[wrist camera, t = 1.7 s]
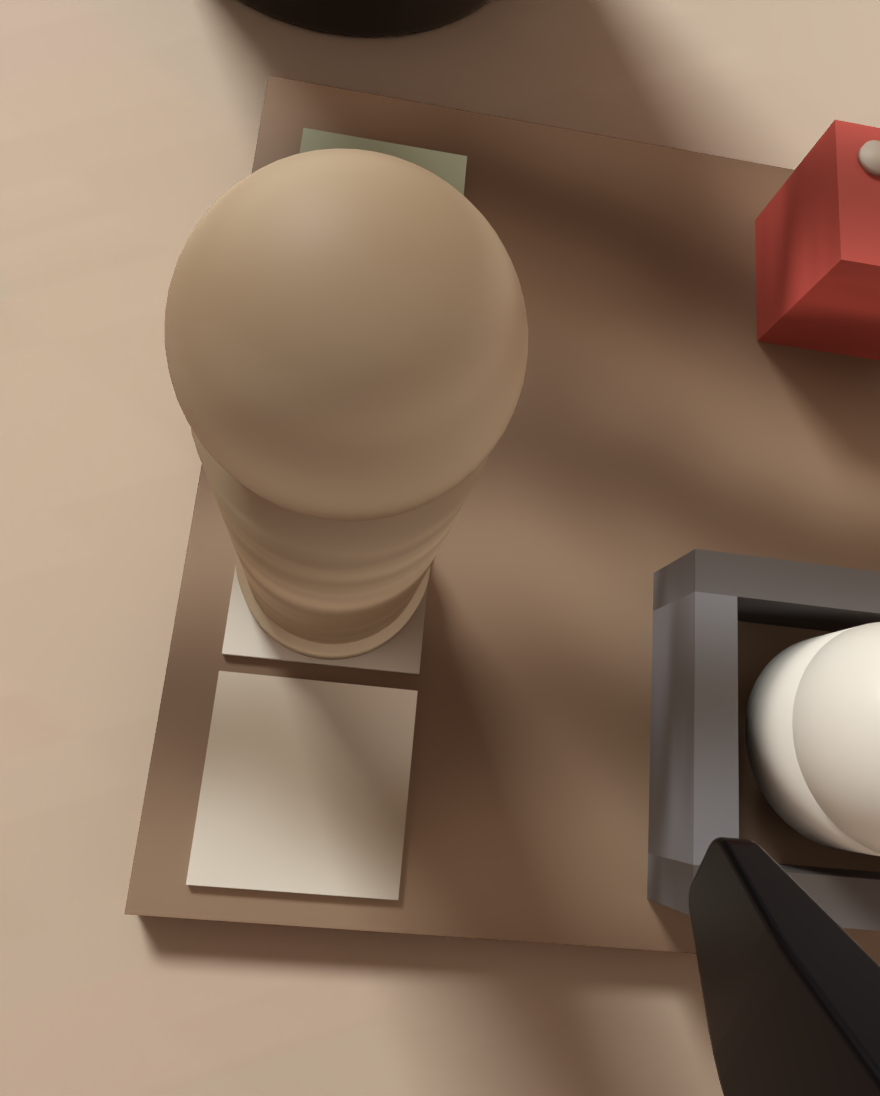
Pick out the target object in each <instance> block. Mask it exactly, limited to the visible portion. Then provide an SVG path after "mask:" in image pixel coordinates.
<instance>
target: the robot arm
mask: <svg viewBox="0 0 880 1096" xmlns="http://www.w3.org/2000/svg"><path fill="white" fill-rule="evenodd" d="M689 912H690V918H691V924H692V930H693V937H694V943H695V949H696V955H697V961H698V967H699V973H700V979H701V986H702V992H703V998H704V1004H705V1010H706V1016H707V1022H708V1029H709V1034H710V1039H711V1045H712V1050H713V1055H714V1059H715V1063H716V1067H717V1071H718V1076H719V1080H720V1084H721V1087H722V1091H723V1095H724V1096H880V965H879V964H878V963H877V962H876V961H875V960H874V959H873V958H872V957H871V956H870V955H869V954H868V953H867V952H866V951H865V950H864V949H863V948H862V947H861V946H860V945H859V944H858V943H857V942H856V941H855V940H854V939H853V938H852V937H851V936H850V935H849V934H848V933H847V932H846V931H845V930H844V929H843V928H842V927H841V926H840V925H839V924H838V923H837V922H836V921H835V920H834V919H833V918H832V917H831V916H830V915H829V914H828V913H827V912H826V911H825V910H824V909H823V908H822V907H821V906H820V905H819V904H818V903H817V902H816V901H815V900H814V899H813V898H812V897H811V896H810V895H809V894H808V893H807V892H806V891H805V890H804V889H803V888H802V887H801V886H800V885H799V884H798V883H797V882H796V881H795V880H794V879H793V878H792V877H791V876H790V875H789V874H788V873H787V872H786V871H785V870H784V869H783V868H782V867H781V866H780V865H779V864H778V863H777V862H776V861H775V860H774V859H773V858H772V857H771V856H770V855H769V854H768V853H767V852H766V851H765V850H764V849H763V848H762V847H760V846H759V845H758V844H757V843H755V842H754V841H751V840H748V839H739V838H728V837H718V838H716V839H714V840H713V841H712V842H711V844H710V845H709V847H708V849H707V851H706V854H705V856H704V858H703V860H702V862H701V864H700V866H699V869H698V871H697V873H696V875H695V877H694V879H693V881H692V884H691V887H690V891H689Z"/></svg>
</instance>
